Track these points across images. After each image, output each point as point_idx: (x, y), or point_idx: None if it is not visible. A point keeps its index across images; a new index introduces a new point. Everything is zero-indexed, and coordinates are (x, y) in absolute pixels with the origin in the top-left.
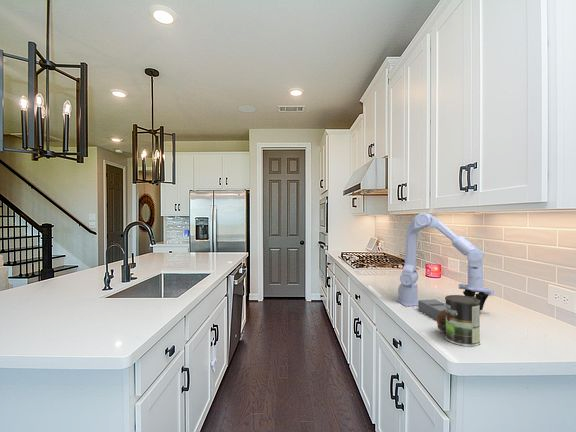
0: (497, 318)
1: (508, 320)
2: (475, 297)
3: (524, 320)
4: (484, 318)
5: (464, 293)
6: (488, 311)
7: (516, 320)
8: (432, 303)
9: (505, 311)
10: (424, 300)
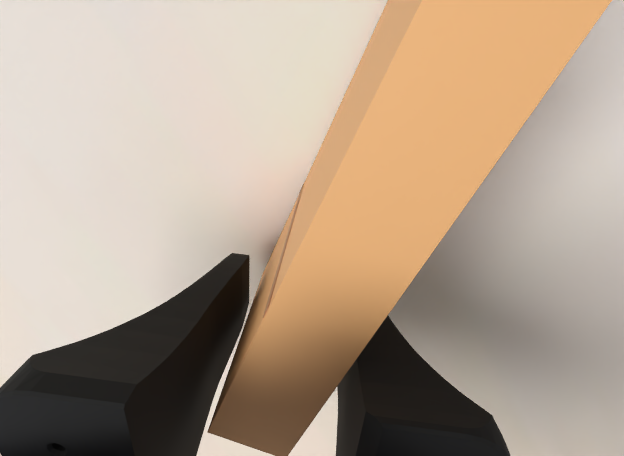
0: (102, 259)
1: (30, 276)
2: (241, 389)
3: (5, 357)
4: (144, 160)
5: (452, 407)
6: None
7: (17, 320)
8: None
9: (212, 450)
10: None
